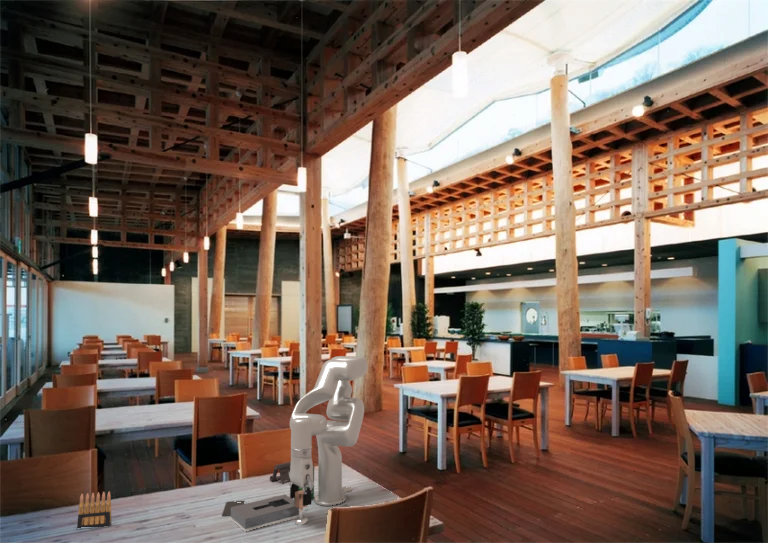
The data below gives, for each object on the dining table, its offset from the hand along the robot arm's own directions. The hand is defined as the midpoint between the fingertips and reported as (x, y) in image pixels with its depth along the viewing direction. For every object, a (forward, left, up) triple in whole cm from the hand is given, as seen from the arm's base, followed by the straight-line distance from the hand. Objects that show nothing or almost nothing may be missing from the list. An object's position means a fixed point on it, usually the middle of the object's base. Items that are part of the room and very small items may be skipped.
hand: (300, 501), depth 187 cm
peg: (0, 0, -8) cm, 8 cm away
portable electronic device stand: (-16, -48, -8) cm, 52 cm away
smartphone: (+14, -29, -8) cm, 33 cm away
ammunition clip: (+60, -43, -8) cm, 74 cm away
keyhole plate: (+8, -12, -8) cm, 16 cm away
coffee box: (-12, -20, -8) cm, 25 cm away
